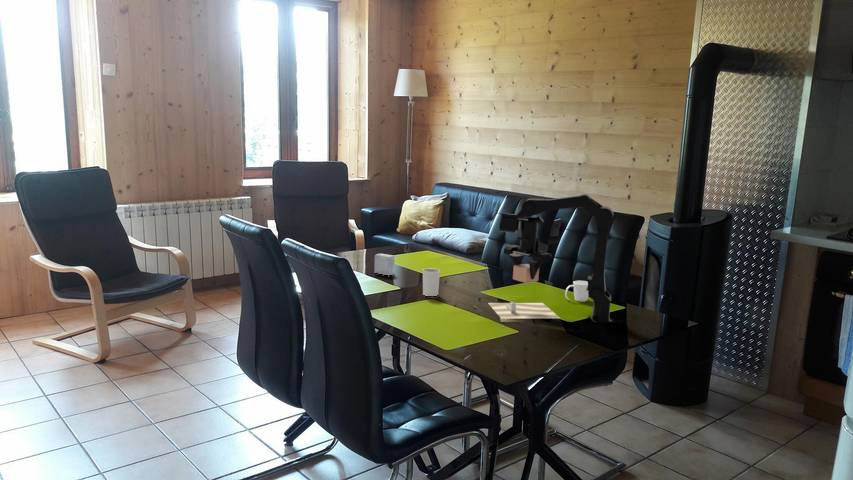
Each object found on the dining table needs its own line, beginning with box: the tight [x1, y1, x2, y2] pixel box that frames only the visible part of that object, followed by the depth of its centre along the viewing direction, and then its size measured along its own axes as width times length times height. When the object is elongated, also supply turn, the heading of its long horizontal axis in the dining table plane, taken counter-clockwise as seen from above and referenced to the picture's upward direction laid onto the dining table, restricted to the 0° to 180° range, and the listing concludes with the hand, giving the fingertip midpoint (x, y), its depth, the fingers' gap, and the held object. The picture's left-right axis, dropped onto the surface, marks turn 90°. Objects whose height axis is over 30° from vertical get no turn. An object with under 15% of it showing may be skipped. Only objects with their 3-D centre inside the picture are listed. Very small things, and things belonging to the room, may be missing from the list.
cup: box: [564, 280, 589, 303], centre depth 259 cm, size 7×10×8 cm
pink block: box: [512, 263, 540, 284], centre depth 242 cm, size 6×6×5 cm
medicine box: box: [373, 253, 396, 277], centre depth 295 cm, size 8×4×9 cm, turn 58°
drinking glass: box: [422, 267, 441, 297], centre depth 262 cm, size 7×7×10 cm
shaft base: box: [487, 301, 561, 323], centre depth 242 cm, size 20×21×5 cm
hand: (525, 277), depth 242 cm, fingers closed on pink block, 6 cm apart
